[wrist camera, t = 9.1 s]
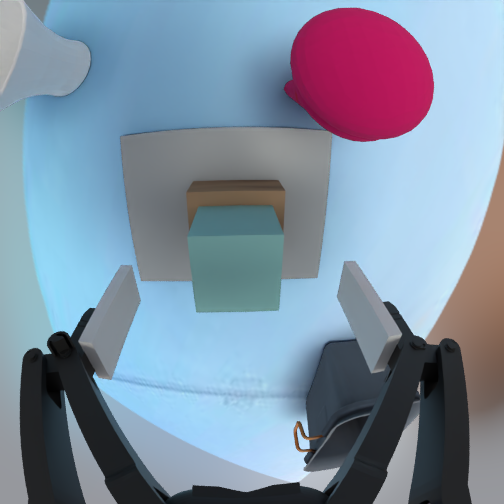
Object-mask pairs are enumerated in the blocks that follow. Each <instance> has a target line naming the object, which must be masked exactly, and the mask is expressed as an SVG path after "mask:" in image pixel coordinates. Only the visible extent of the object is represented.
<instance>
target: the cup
mask: <svg viewBox="0 0 504 504" xmlns="http://www.w3.org/2000/svg"><path fill="white" fill-rule="evenodd" d="M90 61H91V57H90V51H89V49H88V47H87V46H86V45H85V44H84V43H82V42H80V41H75V40H69V39H65V38H63V37H61V36H59V35H57V34H55V33H54V32H53V31H51V30H50V29H48V28H47V27H46V26H45V25H44V24H43V23H42V22H41V21H40V20H39V19H38V18H37V16H36V15H35V14H34V13H33V11H32V10H31V9H30V8H29V6H28V5H27V4H26V3H25V2H24V0H0V111H1V110H3V109H5V108H7V107H8V106H10V105H12V104H14V103H16V102H18V101H19V100H22V99H25V98H28V97H31V96H37V95H45V94H47V95H53V96H59V97H60V96H65V95H68V94H70V93H72V92H73V91H74V90H75V89H77V88H78V87H79V86H80V84H81V83H82V82H83V81H84V79H85V77H86V75H87V73H88V70H89V67H90Z"/></svg>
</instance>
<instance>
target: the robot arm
mask: <svg viewBox="0 0 504 504" xmlns="http://www.w3.org/2000/svg"><path fill="white" fill-rule="evenodd" d="M337 298H338V300H339V302H340V304H341V306H342V309H343V311H344V313H345V315H346V317H347V319H348V322H349V324H350V326H351V328H352V330H353V333H354V335H355V337H356V339H357V342H358V344H359V346H360V348H361V351H362V353H363V355H364V358H365V360H366V362H367V365H368V367H369V369H370V372H371V374H372V373H377V372H382V371H384V370H385V368H386V366H387V364H388V365H389V367H390V371H389V373H388V375H387V376H386V378H385V380H384V385H383V387H382V389H381V392H380V394H379V396H378V398H377V401H376V403H375V405H374V407H373V409H372V411H371V413H370V415H369V417H368V419H367V421H366V423H365V425H364V427H363V429H362V431H361V433H360V435H359V436H358V438H357V440H356V442H355V444H354V445H353V447H352V449H351V451H350V452H349V454H348V456H347V457H346V459H345V461H344V462H343V464H342V466H341V467H340V469H339V470H338V472H337V474H336V475H335V476H334V478H333V479H332V480H331V482H330V483H329V484H328V485H327V487H326V488H325V490H324V491H323V492H321V491H318V490H316V489H312V488H309V487H303V486H300V483H299V482H296V483H288V484H279V485H272V486H268V487H265V488H262V489H258V490H254V491H250V492H241V491H236V490H231V489H227V488H222V487H214V486H194V485H193V487H192V490H187V491H183V492H180V493H177V494H176V495H174V496H172V497H170V496H169V494H168V493H167V492H166V491H165V490H164V489H163V488H162V487H161V485H160V484H159V483H158V482H157V481H156V480H155V479H154V478H153V476H152V475H151V473H150V472H149V471H148V469H147V468H146V466H145V465H144V464H143V462H142V461H141V459H140V458H139V457H138V455H137V454H136V452H135V451H134V449H133V448H132V446H131V445H130V443H129V441H128V440H127V438H126V437H125V435H124V433H123V432H122V430H121V429H120V427H119V425H118V423H117V422H116V420H115V418H114V417H113V415H112V413H111V411H110V409H109V408H108V406H107V404H106V402H105V400H104V398H103V396H102V394H101V392H100V390H99V388H98V386H97V384H96V382H95V380H94V378H93V374H94V372H96V374H97V376H98V377H99V378H103V379H109V380H112V376H113V373H114V371H115V368H116V365H117V362H118V359H119V356H120V353H121V350H122V348H123V345H124V342H125V339H126V337H127V334H128V332H129V329H130V326H131V324H132V321H133V319H134V316H135V313H136V311H137V309H138V306H139V304H140V301H141V300H140V296H139V292H138V288H137V284H136V280H135V276H134V272H133V268H132V265H121V266H120V268H119V269H118V271H117V273H116V274H115V276H114V278H113V279H112V281H111V283H110V284H109V286H108V288H107V289H106V291H105V293H104V295H103V296H102V298H101V300H100V302H99V303H98V305H97V307H96V308H89V309H88V310H87V311H86V312H85V313H84V314H83V316H82V318H81V319H80V321H79V323H78V325H77V327H76V328H75V330H74V332H73V334H72V336H71V338H70V336H69V335H68V333H66V332H64V331H60V332H56V333H54V334H53V335H51V337H50V338H49V339H48V341H47V346H48V348H49V350H50V351H51V353H52V354H45V355H43V353H42V351H41V350H40V349H38V348H33V349H30V350H29V351H27V352H26V354H25V355H24V357H23V362H22V373H21V388H20V436H21V450H22V460H23V469H24V476H25V482H26V487H27V493H28V498H29V499H28V504H86V503H85V500H84V497H83V493H82V490H81V486H80V483H79V479H78V476H77V471H76V467H75V462H74V458H73V453H72V448H71V442H70V437H69V430H68V423H67V415H66V407H65V397H64V390H65V392H66V395H67V398H68V400H69V403H70V406H71V408H72V411H73V413H74V415H75V418H76V420H77V423H78V425H79V427H80V429H81V432H82V434H83V436H84V438H85V440H86V442H87V444H88V446H89V448H90V450H91V452H92V454H93V456H94V458H95V460H96V461H97V464H98V465H99V467H100V469H101V471H102V472H103V474H104V476H105V484H106V486H107V488H108V490H109V491H110V493H111V494H112V496H113V497H114V499H115V500H116V502H117V503H118V504H373V502H374V500H375V498H376V497H377V495H378V493H379V491H380V489H381V487H382V485H383V483H384V481H385V479H386V477H387V473H388V472H387V467H388V465H389V462H390V460H391V458H392V456H393V454H394V451H395V449H396V447H397V444H398V442H399V440H400V437H401V435H402V432H403V429H404V427H405V424H406V422H407V419H408V416H409V413H410V410H411V407H412V404H413V401H414V398H415V395H416V392H417V388H418V385H419V382H420V416H419V430H418V442H417V451H416V459H415V466H414V473H413V479H412V484H411V489H410V495H409V503H408V504H472V503H471V498H470V493H469V488H468V473H469V414H468V401H467V392H466V382H465V375H464V368H463V362H462V356H461V350H460V347H459V345H458V344H457V342H455V341H454V340H452V339H449V338H445V339H443V340H442V341H441V342H440V344H439V345H429V344H427V343H426V341H425V340H424V339H423V338H421V337H419V336H415V335H413V333H412V332H411V330H410V328H409V327H408V325H407V324H406V322H405V321H404V319H403V318H402V316H401V314H399V311H398V310H397V308H396V307H395V306H394V305H393V304H391V303H390V302H389V301H388V302H382V300H381V299H380V297H379V296H378V294H377V293H376V291H375V290H374V288H373V287H372V285H371V284H370V282H369V281H368V279H367V278H366V276H365V275H364V273H363V272H362V270H361V269H360V267H359V266H358V264H357V263H356V261H344V265H343V270H342V275H341V280H340V285H339V290H338V294H337Z"/></svg>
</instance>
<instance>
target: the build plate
mask: <svg viewBox="0 0 504 504" xmlns="http://www.w3.org/2000/svg"><path fill="white" fill-rule="evenodd" d="M120 140H121V154H122V165H123V175H124V184H125V192H126V200H127V207H128V214H129V220H130V227H131V233H132V238H133V244H134V249H135V254H136V259H137V264H138V269H139V274H140V278H141V281H192V275H191V267H190V258H189V249H188V239H187V236H188V233H189V224H188V212H187V198H186V192H187V190H188V189H189V187H190V185H191V184H192V182H193V181H216V180H279V182H280V183H281V185H282V186H283V188H284V189H285V191H286V192H285V212H284V230H283V233H284V245H283V260H282V275H281V279H300V278H317V277H318V270H319V263H320V256H321V248H322V241H323V232H324V224H325V215H326V205H327V195H328V184H329V172H330V159H331V143H332V133H331V132H329V131H326V130H314V129H300V128H280V127H213V128H193V129H179V130H167V131H157V132H148V133H140V134H132V135H125V136H120Z"/></svg>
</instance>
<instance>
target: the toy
mask: <svg viewBox="0 0 504 504" xmlns="http://www.w3.org/2000/svg"><path fill="white" fill-rule="evenodd" d="M290 64H291V70H292V77H293V80H290V81H289V82H288V83H286V85H285V87H284V90H285V92H286V93H287V95H288V96H289V97H290V98H292V99H293V100H294V101H295V102H297V103H298V104H299V105H300V106H301V107H303V108H304V109H305V110H306V111H307V112H308V113H309V115H310V116H311V117H312V118H313V119H314V120H315V121H316V122H317V123H318V124H319V125H321V126H322V127H323V128H325V129H326V130H327V131H329V132H331V133H333V134H335V135H337V136H340V137H342V138H345V139H349V140H352V141H360V142H366V141H376V140H379V139H388V138H394V137H398V136H400V135H403V134H405V133H407V132H409V131H411V130H412V129H414V128H415V127H416V126H417V125H418V124H419V123H420V122H421V121H422V120H423V119H424V117H425V116H426V115H427V113H428V111H429V109H430V106H431V103H432V100H433V92H434V81H433V73H432V69H431V66H430V63H429V60H428V58H427V56H426V54H425V52H424V51H423V49H422V47H421V46H420V44H419V43H418V42H417V41H416V39H415V38H414V37H413V36H412V35H411V34H410V33H409V32H408V31H407V30H406V29H405V28H403V27H402V26H401V25H399V24H398V23H397V22H395V21H393V20H392V19H390V18H388V17H386V16H384V15H381V14H379V13H376V12H374V11H370V10H365V9H361V8H337V9H333V10H329V11H325V12H323V13H321V14H319V15H317V16H315V17H313V18H312V19H311V20H309V21H308V22H307V23H306V24H305V25H304V26H303V27H302V28H301V29H300V31H299V32H298V34H297V36H296V38H295V40H294V43H293V46H292V50H291V61H290Z"/></svg>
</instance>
